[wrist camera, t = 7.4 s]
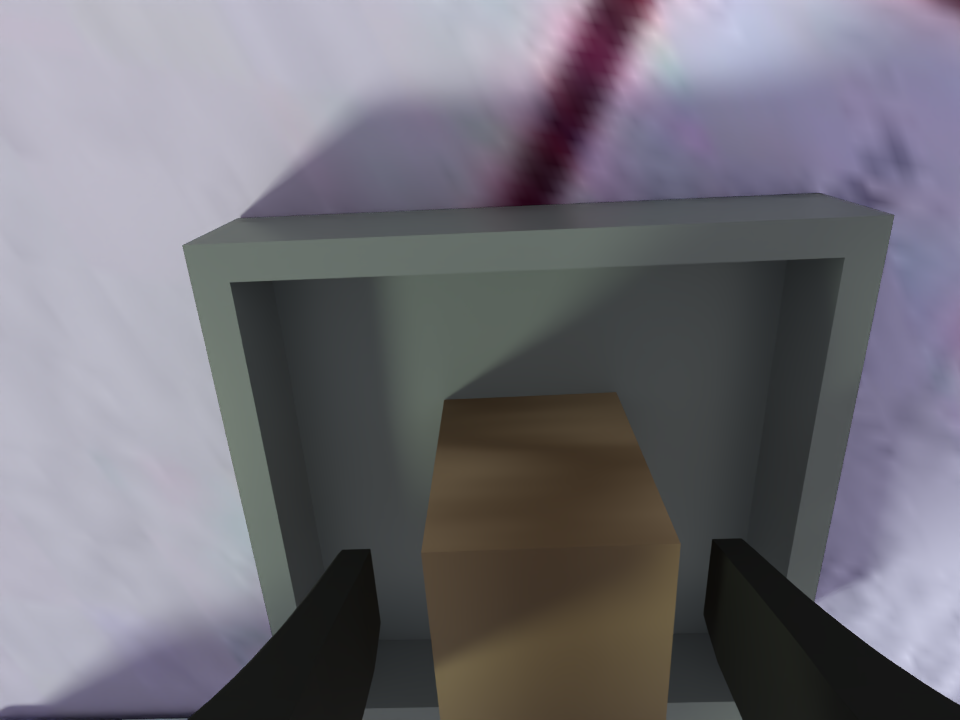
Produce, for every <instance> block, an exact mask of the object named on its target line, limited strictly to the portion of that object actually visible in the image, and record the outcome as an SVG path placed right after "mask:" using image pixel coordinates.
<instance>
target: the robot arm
mask: <svg viewBox="0 0 960 720" xmlns="http://www.w3.org/2000/svg"><path fill="white" fill-rule="evenodd" d="M703 615H704V619H705V622H706V626H707V629H708V633H709V636H710V640H711V643H712V646H713V649H714V652H715V656H716V659H717V662H718V664H719V667H720V669H721V671H722V674H723V676H724V678H725V681H726V683H727V685H728V688H729V690H730V692H731V695H732V697H733V699H734V701H735V704H736V706H737V708H738V711H739V713H740V715H741V717H742V720H960V705H959V704H957V703H955V702H954V701H952V700H950V699H948V698H947V697H945V696H944V695H942V694H940V693H939V692H937V691H936V690H934V689H932V688H931V687H929V686H928V685H926V684H924V683H923V682H921V681H920V680H918V679H917V678H915V677H914V676H913V675H911V674H910V673H908V672H907V671H905V670H904V669H902V668H901V667H899V666H898V665H896V664H895V663H893V662H892V661H890V660H889V659H887V658H886V657H885V656H883V655H882V654H880V653H879V652H878V651H876V650H875V649H873V648H872V647H871V646H869V645H868V644H867V643H865V642H864V641H863V640H861V639H860V638H859V637H858V636H856V635H855V634H854V633H852V632H851V631H850V630H848V629H847V628H846V627H844V626H843V625H842V624H841V623H839V622H838V621H837V620H836V619H834V618H833V617H832V616H831V615H829V614H828V613H827V612H826V611H824V610H823V609H822V608H821V607H820V606H818V605H817V604H816V603H815V602H814V601H812V600H811V599H810V598H809V597H808V596H807V595H805V594H804V593H803V592H802V591H801V590H800V589H798V588H797V587H796V586H795V585H794V584H793V583H792V582H790V581H789V580H788V579H787V578H786V577H785V576H784V575H782V574H781V573H780V572H779V571H778V570H777V569H776V568H775V567H774V566H772V565H771V564H770V563H769V562H768V561H767V560H766V559H765V558H764V557H762V556H761V555H760V554H759V553H758V552H757V551H756V550H755V549H753V548H752V547H751V546H750V545H749V544H748V543H747V542H745V541H744V540H743V539H742V538H731V539H712V545H711V553H710V561H709V570H708V578H707V587H706V595H705V603H704V612H703ZM380 625H381V620H380V613H379V606H378V599H377V592H376V584H375V577H374V570H373V563H372V556H371V549H347V550H341V551H340V552H339V553H338V554H337V556H336V557H335V558H334V560H333V561H332V563H331V564H330V565H329V567H328V568H327V569H326V571H325V572H324V573H323V575H322V576H321V577H320V579H319V580H318V581H317V583H316V584H315V585H314V587H313V588H312V589H311V591H310V592H309V593H308V594H307V596H306V597H305V598H304V599H303V601H302V602H301V603H300V604H299V606H298V607H297V608H296V609H295V611H294V612H293V613H292V614H291V615H290V617H289V618H288V619H287V620H286V622H285V623H284V624H283V625H282V626H281V627H280V629H279V630H278V631H277V632H276V633H275V634H274V635H273V636H272V638H271V639H270V640H269V641H268V642H267V643H266V644H265V645H264V646H263V648H262V649H261V650H260V651H259V652H258V653H257V654H256V655H255V656H254V657H253V659H252V660H251V661H250V662H249V663H248V664H247V665H246V666H245V667H244V668H243V669H242V670H241V671H240V672H239V673H238V674H237V675H236V676H235V677H234V678H233V679H232V680H231V681H230V682H229V683H228V684H227V685H225V686H224V687H223V688H222V689H221V690H220V691H219V692H218V693H217V694H216V695H215V696H214V697H213V698H212V699H210V700H209V701H208V702H207V703H206V704H205V705H204V706H202V707H201V708H200V709H199V710H198V711H197V712H195V713H194V714H193V715H192V716H191V717H190V718H178V719H124V720H362V719H363V715H364V711H365V707H366V703H367V699H368V695H369V691H370V687H371V683H372V678H373V674H374V670H375V663H376V656H377V649H378V641H379V633H380Z"/></svg>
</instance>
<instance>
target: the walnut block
mask: <svg viewBox="0 0 960 720" xmlns="http://www.w3.org/2000/svg"><path fill="white" fill-rule="evenodd" d="M680 546H681V543H680V541H679V538H678V536H677V534H676V531H675V529H674V527H673V524H672V522H671V520H670V517H669V515H668V513H667V510H666V508H665V506H664V503H663V501H662V498H661V496H660V494H659V491H658V489H657V487H656V484H655V482H654V480H653V477H652V475H651V473H650V470H649V468H648V466H647V463H646V461H645V458H644V456H643V454H642V451H641V449H640V447H639V444H638V442H637V440H636V437H635V435H634V433H633V430H632V428H631V426H630V423H629V421H628V419H627V416H626V414H625V411H624V409H623V407H622V404H621V402H620V400H619V397H618V395H617V393H616V392H609V393H587V394H564V395H541V396H518V397H496V398H473V399H450V400H444V404H443V411H442V417H441V424H440V431H439V437H438V444H437V450H436V457H435V464H434V470H433V477H432V484H431V490H430V497H429V503H428V510H427V517H426V523H425V530H424V537H423V543H422V550H421V556H422V565H423V574H424V582H425V591H426V600H427V609H428V617H429V626H430V635H431V643H432V652H433V661H434V669H435V678H436V687H437V695H438V704H439V713H440V720H666V714H667V702H668V690H669V678H670V666H671V654H672V642H673V630H674V618H675V606H676V594H677V582H678V570H679V558H680Z"/></svg>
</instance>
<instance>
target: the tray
mask: <svg viewBox="0 0 960 720" xmlns="http://www.w3.org/2000/svg"><path fill="white" fill-rule="evenodd" d="M893 220H894V215H892V214H889V213H886V212H882V211H879V210H875V209H872V208H869V207H865V206H862V205H859V204H855V203H852V202H848V201H845V200H842V199H838V198H835V197H832V196H828V195H825V194H821V193H807V194H784V195H761V196H738V197H715V198H692V199H669V200H646V201H623V202H600V203H578V204H555V205H532V206H509V207H486V208H463V209H440V210H417V211H394V212H371V213H348V214H325V215H303V216H280V217H257V218H237V219H235V220H233V221H231V222H229V223H227V224H225V225H223V226H221V227H219V228H217V229H215V230H213V231H211V232H209V233H207V234H205V235H202V236H200V237H198V238H196V239H194V240H192V241H190V242H188V243H186V244H184V245H182V246H183V250H184V255H185V259H186V263H187V268H188V272H189V276H190V281H191V285H192V289H193V294H194V298H195V302H196V307H197V311H198V315H199V320H200V324H201V328H202V333H203V337H204V341H205V346H206V350H207V354H208V359H209V363H210V367H211V372H212V376H213V380H214V385H215V389H216V394H217V398H218V402H219V407H220V411H221V415H222V420H223V424H224V428H225V433H226V437H227V441H228V446H229V450H230V454H231V459H232V463H233V467H234V472H235V476H236V480H237V485H238V489H239V493H240V498H241V502H242V506H243V511H244V515H245V519H246V524H247V528H248V532H249V537H250V541H251V545H252V550H253V554H254V558H255V563H256V567H257V572H258V576H259V580H260V585H261V589H262V593H263V598H264V602H265V606H266V611H267V615H268V619H269V624H270V628H271V632H272V636H273V635H274V634H275V633H276V632H277V631H278V630H279V629H280V627H281V626H282V625H283V624H284V623H285V622H286V620H287V619H288V618H289V617H290V615H291V614H292V613H293V612H294V611H295V609H296V608H297V607H298V606H299V604H300V603H301V602H302V601H303V599H304V598H305V597H306V596H307V594H308V593H309V592H310V591H311V589H312V588H313V587H314V585H315V584H316V583H317V581H318V580H319V579H320V577H321V576H322V575H323V573H324V572H325V571H326V569H327V568H328V567H329V565H330V564H331V563H332V561H333V560H334V558H335V557H336V556H337V554H338V553H339V552H340V551H341V550H347V549H371V556H372V563H373V570H374V577H375V584H376V592H377V599H378V606H379V613H380V620H381V625H380V633H379V641H378V649H377V656H376V663H375V670H374V674H373V678H372V683H371V687H370V691H369V695H368V699H367V703H366V707H365V711H364V715H363V719H362V720H440V713H439V704H438V695H437V687H436V678H435V669H434V661H433V652H432V643H431V635H430V626H429V617H428V609H427V600H426V591H425V582H424V574H423V565H422V556H421V550H422V543H423V537H424V530H425V523H426V517H427V510H428V503H429V497H430V490H431V484H432V477H433V470H434V464H435V457H436V450H437V444H438V437H439V431H440V424H441V417H442V411H443V404H444V400H450V399H473V398H496V397H518V396H541V395H564V394H587V393H609V392H616V393H617V395H618V397H619V400H620V402H621V404H622V407H623V409H624V411H625V414H626V416H627V419H628V421H629V423H630V426H631V428H632V430H633V433H634V435H635V437H636V440H637V442H638V444H639V447H640V449H641V451H642V454H643V456H644V458H645V461H646V463H647V466H648V468H649V470H650V473H651V475H652V477H653V480H654V482H655V484H656V487H657V489H658V491H659V494H660V496H661V498H662V501H663V503H664V506H665V508H666V510H667V513H668V515H669V517H670V520H671V522H672V524H673V527H674V529H675V531H676V534H677V536H678V538H679V541H680V543H681V546H680V558H679V570H678V582H677V594H676V606H675V618H674V630H673V642H672V654H671V666H670V678H669V690H668V702H667V714H666V720H742V717H741V715H740V713H739V711H738V708H737V706H736V704H735V701H734V699H733V697H732V695H731V692H730V690H729V688H728V685H727V683H726V681H725V678H724V676H723V674H722V671H721V669H720V667H719V664H718V662H717V659H716V656H715V652H714V649H713V646H712V643H711V640H710V636H709V633H708V629H707V626H706V622H705V619H704V615H703V612H704V603H705V595H706V587H707V578H708V570H709V561H710V553H711V545H712V539H731V538H742V539H743V540H744V541H745V542H747V543H748V544H749V545H750V546H751V547H752V548H753V549H755V550H756V551H757V552H758V553H759V554H760V555H761V556H762V557H764V558H765V559H766V560H767V561H768V562H769V563H770V564H771V565H772V566H774V567H775V568H776V569H777V570H778V571H779V572H780V573H781V574H782V575H784V576H785V577H786V578H787V579H788V580H789V581H790V582H792V583H793V584H794V585H795V586H796V587H797V588H798V589H800V590H801V591H802V592H803V593H804V594H805V595H807V596H808V597H809V598H810V599H811V600H812V601H814V600H815V595H816V590H817V586H818V581H819V576H820V571H821V566H822V562H823V557H824V552H825V547H826V542H827V537H828V533H829V528H830V523H831V518H832V513H833V509H834V504H835V499H836V494H837V489H838V484H839V480H840V475H841V470H842V465H843V460H844V456H845V451H846V446H847V441H848V436H849V432H850V427H851V422H852V417H853V412H854V407H855V403H856V398H857V393H858V388H859V383H860V379H861V374H862V369H863V364H864V359H865V354H866V350H867V345H868V340H869V335H870V330H871V326H872V321H873V316H874V311H875V306H876V301H877V297H878V292H879V287H880V282H881V277H882V273H883V268H884V263H885V258H886V253H887V248H888V244H889V239H890V234H891V229H892V224H893Z"/></svg>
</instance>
